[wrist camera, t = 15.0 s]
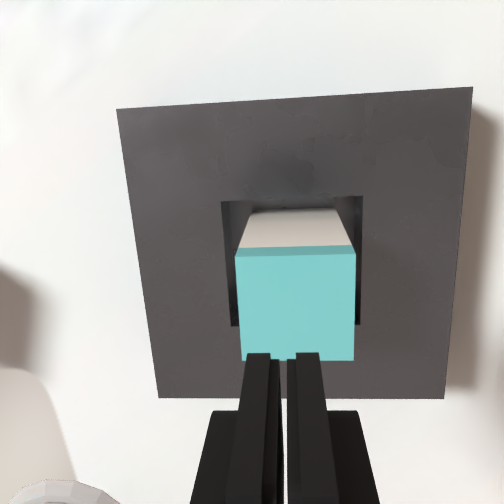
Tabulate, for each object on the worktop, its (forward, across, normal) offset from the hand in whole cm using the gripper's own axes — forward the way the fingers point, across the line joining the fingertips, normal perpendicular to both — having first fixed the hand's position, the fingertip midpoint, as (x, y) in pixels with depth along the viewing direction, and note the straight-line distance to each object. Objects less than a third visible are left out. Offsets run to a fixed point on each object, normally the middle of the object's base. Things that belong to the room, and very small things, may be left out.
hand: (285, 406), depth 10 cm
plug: (+12, 0, 0) cm, 12 cm away
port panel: (+13, 0, 0) cm, 13 cm away
